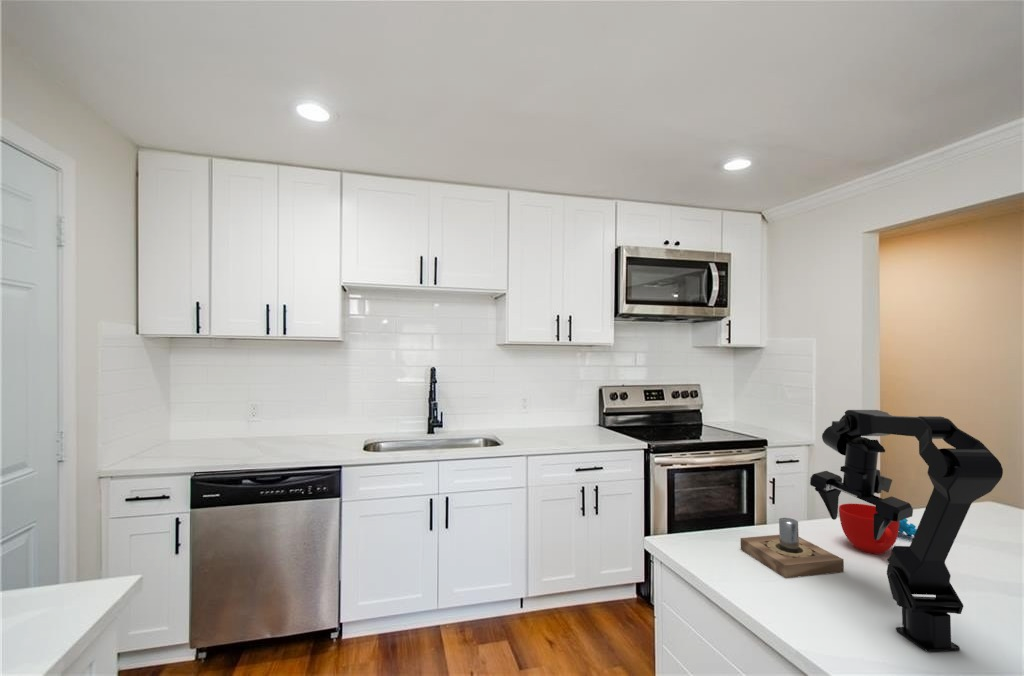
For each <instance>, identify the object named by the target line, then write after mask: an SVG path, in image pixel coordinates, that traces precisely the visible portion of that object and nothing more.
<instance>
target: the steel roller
mask: <svg viewBox="0 0 1024 676" xmlns="http://www.w3.org/2000/svg"><path fill="white" fill-rule="evenodd" d="M778 526H779V527H778V528H779V529H778V530H779V531H778V533H779V534H778V535H780V550H781V551H785V552H788V553H799V537H800V536H799V521H798V520H796V519H794V518H790V517H780V518H778Z"/></svg>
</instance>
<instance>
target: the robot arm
mask: <svg viewBox="0 0 1024 676" xmlns="http://www.w3.org/2000/svg"><path fill="white" fill-rule="evenodd" d="M844 411H845V412H844V414H843V415H842V417H840V419H839V420H837V421H836V420H832V421H831V425H830V426H828V427H826V429H824V431H823V433H822V435H821V439H822V442H823V443H824V445H826V446H828V447H829V448H831V449H832V450H834V451H836V452H837V453H838V454H840V455H842V456H845V457H844V465H843V466H840V469H839V470H840V472H842V473H843V477H841V476H840V475H838V474H836V473H833V472H830V471H828V470H823V471H820V472H816V473H813V474H812V475H811V476H810V478H809V479H810V480H809V486H811V487H814V491H816V492H818V494H819V497H820V498H821V499H822V501H823V503H824V505H825V507H826V509H827V512H828V514H829V516H830V518H831V519H832V520H833V521H834V520H835V521H836V520H837V518H838V515H839V497H840V494H841V492H843V493H845V494H847V495H849V496H852V497H854V498H856V499H859V500H861V501H863V502H867V503H868V504H871V505H872V506H876V508H875V510H876V511H877V513H876V514H874V520H873V521H874V523H873V535H874V539H875V540H879V539H880V537H881V536H882V534H883V533H884V531H885V530H886V528H887V527H888V525H889V524H890V523H891V522H892V521H897V522H898V521H900V520H903V519H909V518H911V517H913V512H914V508H913V507H912V504H911V503H909V502H908V501H905V500H902V499H900V498H897V497H894V496H892V495H891V496H888V497H886V498H882V497H879V496H876V495H875V494H881V493H882V491H883V492H886V493H889V492H890V489H891V486H892V484H893V478H889V477H886V476H884V475H882V474H881V469H880V470H879V469H877V467H878V460H879V459H878V458H879V453H884V454H885V453H886V449H885V448H884V446H883V445H882V444H881V443H880V441H879V440H878V439H870V438H868V437H884V436H890V435H897V436H905V437H906V436H907V437H915V438H916V440H917V441H918V454H919V456H920V457H921V459H922V460H923V461H924V462H925V464H926V465H927V466H928V467H927V468H928V469H927V477H929V480H930V482H931V483H932V486H933V489H932V492H931V493H930V497H929V498H928V501H927V505H926V506H925V509H924V511H923V513H922V516H921V519H920V521H919V524H918V526H917V528H916V529H917V530H916V533H915V535H913V538H912V541H911V543H910V545H909V546H908V545H893V546H892V547H891V552H890V556H889V557H888V558H887V559H886V562H888V565H887V568H886V569H887V570H886V576H887V577H886V578H887V579H888V580H887V581H888V585H889V588H890V589H889V590H890V593H891V596H892V599H893V600H894V601H895V602H896V605H897V606H898V607H900V608H901V617H902V618H901V619H902V620H901V621H902V626H897V627H895V631H896V632H898V633H899V634H900V635H901V636H904V637H905V638H906V639H908V640H909V641H910V642H912V643H914V644H915V645H917V646H918V647H919V648H921V649H923V650H924V651H925V652H948V651H949V652H950V651H951V652H952V651H960V650H961V647H960V646H959V645H958V644H956V643H955V642H954V641H952V629H951V628H952V627H951V626H952V625H951V624H952V623H951V619H952V618H951V614H956V615H961V614H962V612H963V610H964V603H963V602H962V601H961V599H960V597H959V595H958V593H957V592H956V590H955V588H954V587H953V585H952V584H951V582H950V581H951V578H952V577H951V573H950V571H949V569H948V567H947V565H946V560H947V558H948V555H949V553H950V551H951V549H952V546H953V544H954V543H955V540H956V538H957V536H958V534H959V531H960V530H961V527H962V525H963V522H964V520H965V519H966V516H967V515H968V513H969V510H970V508H971V506H972V504H973V503H974V502H975V501H977V500H979V499H980V498H982V497H984V496H986V495H988V494H989V493H991V492H992V491H993V490H994V488H996V487H997V485H998V483H999V482H1000V481H1001V480H1002V477H1003V474H1004V472H1003V471H1004V468H1003V467H1002V466H1003V465H1002V463H1001V462H1000V460H999V459H998V458H997V456H995V455H994V453H992V452H991V451H990V450H989V448H987V446H986V445H985V444H984V443H983V442H982V441H980V440H979V439H977V438H976V437H974V436H972V435H971V434H968V433H967V432H965V431H963V430H962V429H960V428H958V426H956V425H955V424H954V423H953V421H952V420H951V419H949V418H947V417H944V416H940V415H939V416H933V415H932V416H930V415H929V416H925V415H924V416H923V415H918V416H907V415H906V416H905V415H904V416H903V415H891V414H890V413H888V412H886V411H882V410H879V409H847V410H844ZM938 439H939V440H943V441H944V442H945V443H946V444H948V445H950V446H951V447H952V448H945V447H943V448H938V447H937V446H936V444H935V443H934V442H933V440H938ZM914 595H915V596H914ZM916 595H918V596H916ZM919 595H924V596H919Z"/></svg>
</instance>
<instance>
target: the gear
mask: <svg viewBox="0 0 1024 676" xmlns="http://www.w3.org/2000/svg"><path fill="white" fill-rule="evenodd" d="M908 521H909V520H908V518H906V519H903V520H900V521H899V531H898V533H905V534H906V535H907V536H908V537H909V536H910V537H912V536H914V535H915V533H916V530H917V528H916V527H917V526H916V525H915V524H914V523H910V524H909V523H908Z"/></svg>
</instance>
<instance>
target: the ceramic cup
mask: <svg viewBox="0 0 1024 676" xmlns="http://www.w3.org/2000/svg"><path fill="white" fill-rule="evenodd" d="M875 508H876V506H875V505H872V504H871V505H870V504H862V503H842V504H840V505H838V515H839V521H840V525H841V528H842V531H843V534H844V535H845V537H846V539H848V540H849V542H850V543H851V544H852V545H853V547H854V548H855V549H856V550H859V551H861V552H864V553H869V554H874V555H875V554H876V555H879V554H880V555H881V554H884V553H885V552H887V551H889V550H890V549H892V548H893V547H894V546H895V543H896V542H897V539H898V536H899V521H898V522H897V521H892V522H891V523H890V524H889V525H888V527H887V528H886V530H885V531H884V533H883V534H882V536H881V537H880V539H879V540H875V539H874V535H873V523H874V521H873V520H874V514H876V513H877V511H876V510H875Z"/></svg>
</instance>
